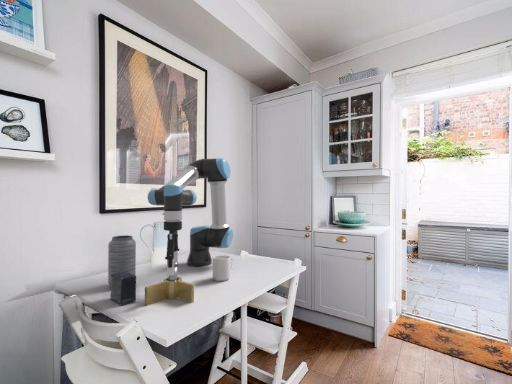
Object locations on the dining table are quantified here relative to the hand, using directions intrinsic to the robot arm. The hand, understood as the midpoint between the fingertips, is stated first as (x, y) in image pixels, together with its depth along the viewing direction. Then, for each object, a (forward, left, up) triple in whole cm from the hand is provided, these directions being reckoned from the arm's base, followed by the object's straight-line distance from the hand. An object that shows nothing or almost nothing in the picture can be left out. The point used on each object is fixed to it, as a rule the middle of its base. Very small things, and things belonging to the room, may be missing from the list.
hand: (172, 270), depth 115 cm
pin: (0, 0, -11) cm, 11 cm away
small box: (+2, -19, -11) cm, 22 cm away
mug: (-20, +23, -11) cm, 32 cm away
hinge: (+3, 0, -11) cm, 11 cm away
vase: (-17, -25, -11) cm, 32 cm away
